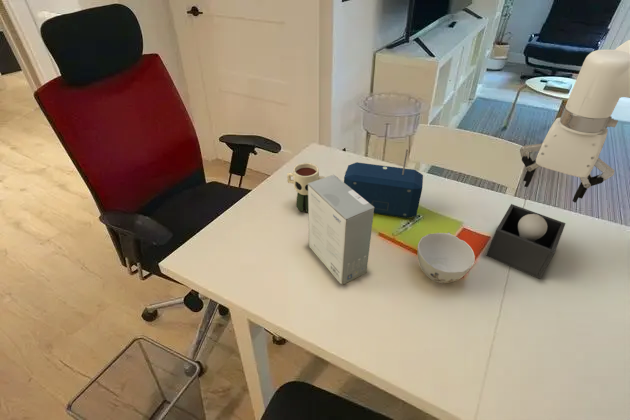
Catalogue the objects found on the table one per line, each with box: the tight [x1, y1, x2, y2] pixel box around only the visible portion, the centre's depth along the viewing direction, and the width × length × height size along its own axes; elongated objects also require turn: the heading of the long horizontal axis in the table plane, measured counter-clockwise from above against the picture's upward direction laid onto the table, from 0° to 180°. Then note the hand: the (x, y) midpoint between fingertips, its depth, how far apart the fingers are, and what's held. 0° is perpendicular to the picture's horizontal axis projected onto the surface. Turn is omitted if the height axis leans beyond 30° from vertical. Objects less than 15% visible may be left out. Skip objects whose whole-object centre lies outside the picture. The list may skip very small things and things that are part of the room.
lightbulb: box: [518, 214, 547, 242], centre depth 90 cm, size 6×6×11 cm
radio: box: [343, 149, 424, 219], centre depth 103 cm, size 21×9×20 cm, turn 76°
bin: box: [485, 203, 566, 280], centre depth 92 cm, size 13×13×9 cm
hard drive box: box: [307, 174, 375, 285], centre depth 87 cm, size 16×8×20 cm, turn 32°
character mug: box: [286, 162, 326, 213], centre depth 105 cm, size 11×7×13 cm, turn 78°
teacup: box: [416, 231, 476, 284], centre depth 87 cm, size 15×12×8 cm
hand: (550, 191), depth 82 cm, fingers open, 9 cm apart
